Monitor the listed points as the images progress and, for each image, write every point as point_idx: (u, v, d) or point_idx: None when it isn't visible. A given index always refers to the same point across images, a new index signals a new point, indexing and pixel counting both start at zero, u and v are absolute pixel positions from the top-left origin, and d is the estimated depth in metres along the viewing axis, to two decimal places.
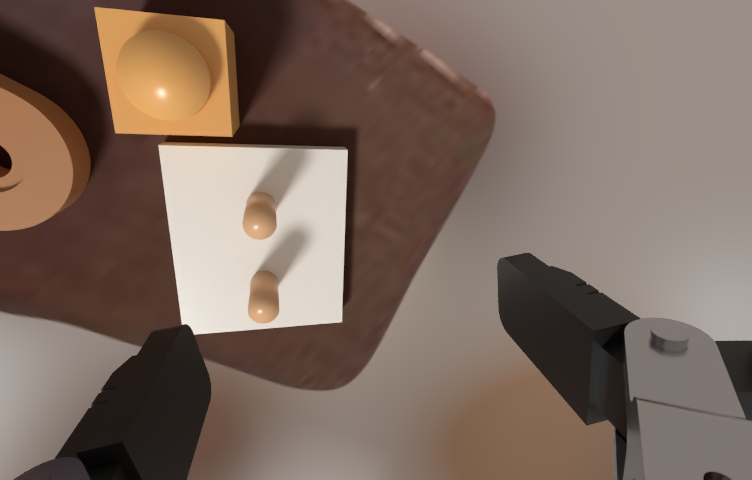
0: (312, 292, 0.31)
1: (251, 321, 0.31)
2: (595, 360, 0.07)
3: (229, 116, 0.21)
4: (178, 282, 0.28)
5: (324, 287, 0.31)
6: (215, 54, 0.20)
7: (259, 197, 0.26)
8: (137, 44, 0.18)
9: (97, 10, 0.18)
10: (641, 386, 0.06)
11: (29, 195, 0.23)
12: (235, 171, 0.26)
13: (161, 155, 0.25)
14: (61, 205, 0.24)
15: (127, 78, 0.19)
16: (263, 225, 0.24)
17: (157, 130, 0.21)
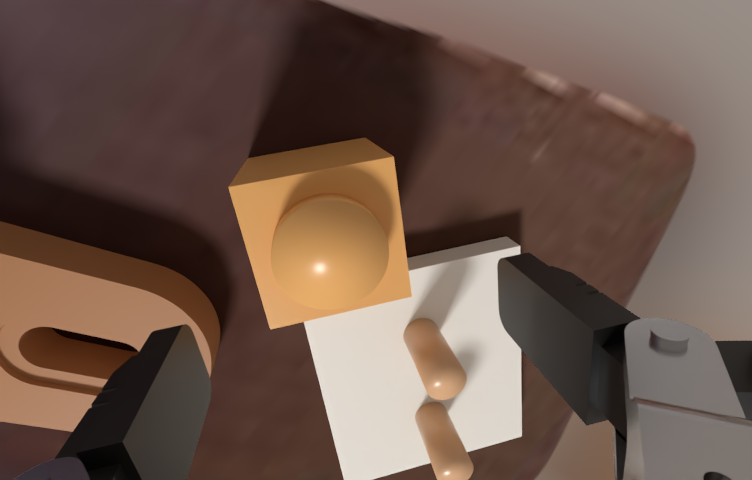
0: (486, 412, 0.25)
1: (419, 457, 0.25)
2: (595, 360, 0.07)
3: (406, 273, 0.15)
4: (335, 434, 0.23)
5: (499, 404, 0.25)
6: (384, 203, 0.14)
7: (426, 333, 0.20)
8: (294, 227, 0.13)
9: (232, 190, 0.13)
10: (641, 386, 0.06)
11: None
12: (388, 302, 0.21)
13: None
14: None
15: (285, 272, 0.13)
16: (451, 382, 0.18)
17: (320, 313, 0.15)
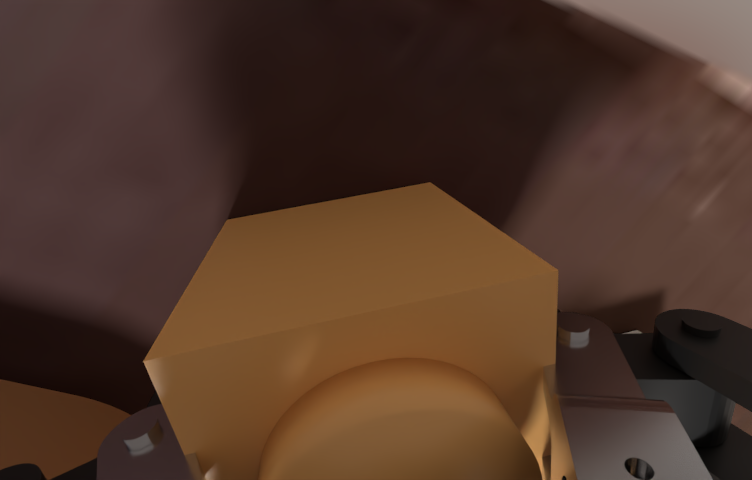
0: None
1: None
2: None
3: None
4: None
5: None
6: (523, 369, 0.06)
7: None
8: (316, 477, 0.05)
9: (155, 366, 0.05)
10: (557, 381, 0.06)
11: None
12: None
13: None
14: None
15: None
16: None
17: None
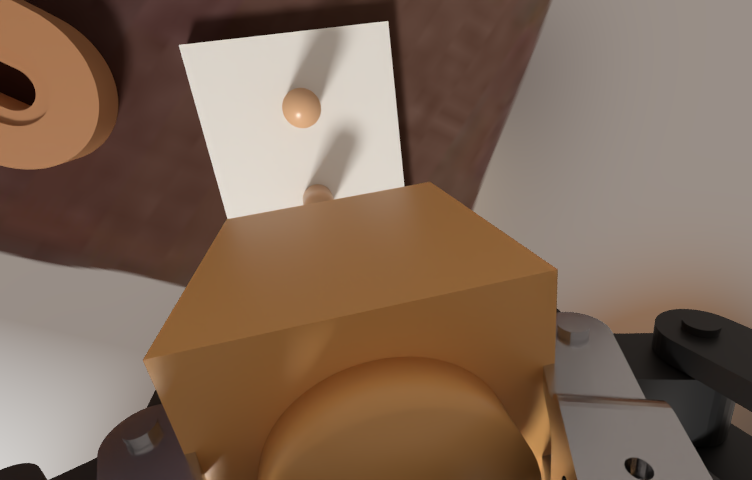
0: None
1: None
2: None
3: None
4: (227, 207, 0.26)
5: None
6: (522, 368, 0.06)
7: None
8: (315, 475, 0.05)
9: (155, 364, 0.05)
10: (557, 381, 0.06)
11: (56, 129, 0.21)
12: (266, 65, 0.23)
13: (184, 57, 0.22)
14: (89, 139, 0.22)
15: None
16: (306, 108, 0.21)
17: None
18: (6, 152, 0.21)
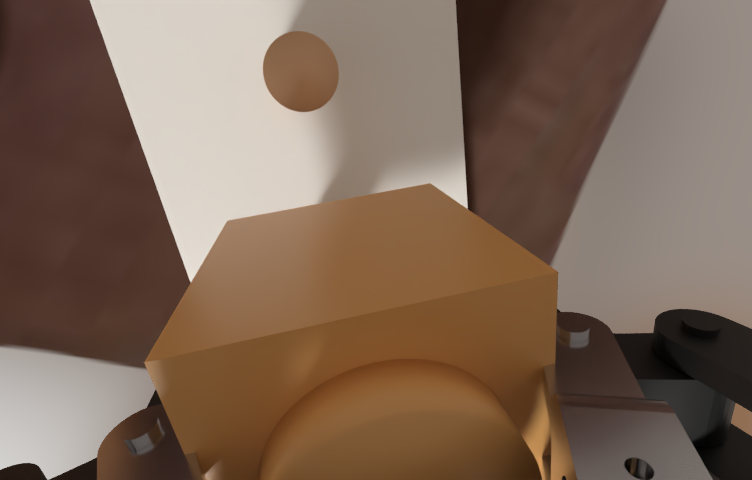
0: None
1: None
2: None
3: None
4: (183, 249, 0.16)
5: None
6: (523, 370, 0.06)
7: None
8: (316, 478, 0.05)
9: (156, 367, 0.05)
10: (557, 381, 0.06)
11: None
12: (239, 6, 0.13)
13: None
14: None
15: None
16: (310, 73, 0.11)
17: None
18: None
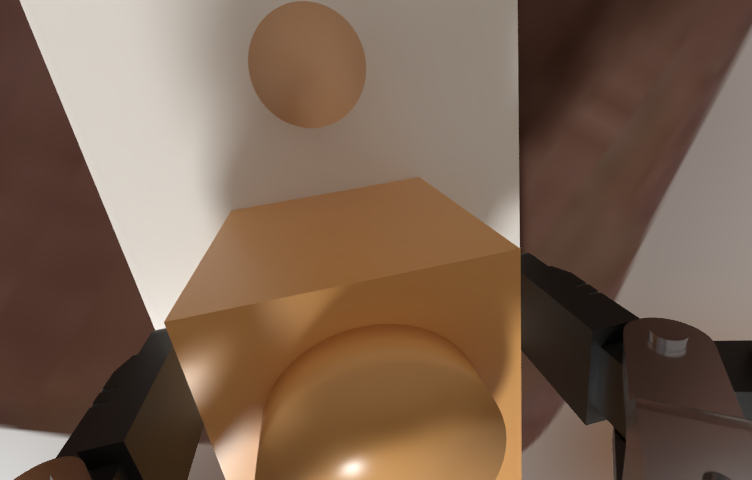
0: None
1: None
2: (594, 360, 0.07)
3: (517, 452, 0.08)
4: (150, 304, 0.12)
5: None
6: (492, 336, 0.07)
7: None
8: (309, 419, 0.06)
9: (174, 326, 0.06)
10: (640, 386, 0.06)
11: None
12: None
13: None
14: None
15: None
16: (322, 68, 0.07)
17: None
18: None
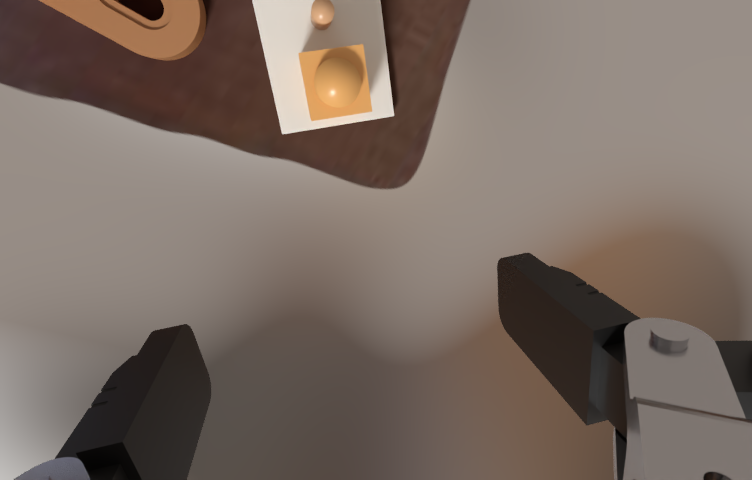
0: None
1: (327, 119, 0.41)
2: (595, 360, 0.07)
3: (369, 99, 0.36)
4: (273, 88, 0.40)
5: (376, 84, 0.41)
6: (359, 64, 0.35)
7: None
8: (323, 67, 0.33)
9: (299, 54, 0.34)
10: (641, 386, 0.06)
11: (173, 33, 0.36)
12: None
13: None
14: (191, 41, 0.36)
15: (319, 87, 0.34)
16: (325, 10, 0.35)
17: (332, 115, 0.36)
18: (143, 46, 0.36)
